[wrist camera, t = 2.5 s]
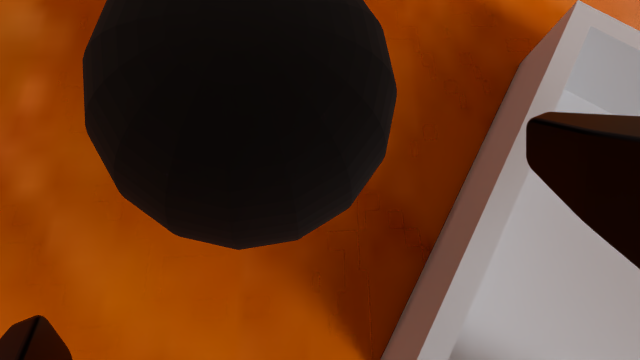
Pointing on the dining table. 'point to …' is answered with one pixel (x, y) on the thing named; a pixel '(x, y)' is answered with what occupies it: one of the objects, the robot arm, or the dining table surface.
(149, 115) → the light bulb
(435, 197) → the dining table surface
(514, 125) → the parts tray
